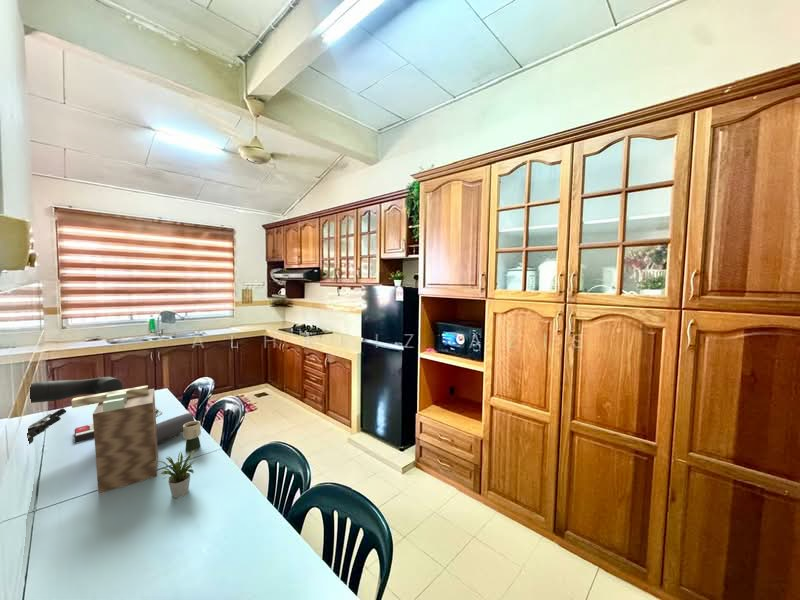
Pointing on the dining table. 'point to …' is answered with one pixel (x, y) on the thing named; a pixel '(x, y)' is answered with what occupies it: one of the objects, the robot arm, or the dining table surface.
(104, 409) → the pale green blocks
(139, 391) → the maple plank
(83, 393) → the robot arm
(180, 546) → the dining table surface
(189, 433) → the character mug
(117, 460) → the walnut stand
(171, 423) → the bluetooth speaker
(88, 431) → the red and black block
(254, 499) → the dining table surface
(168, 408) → the dining table surface
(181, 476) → the house plant
